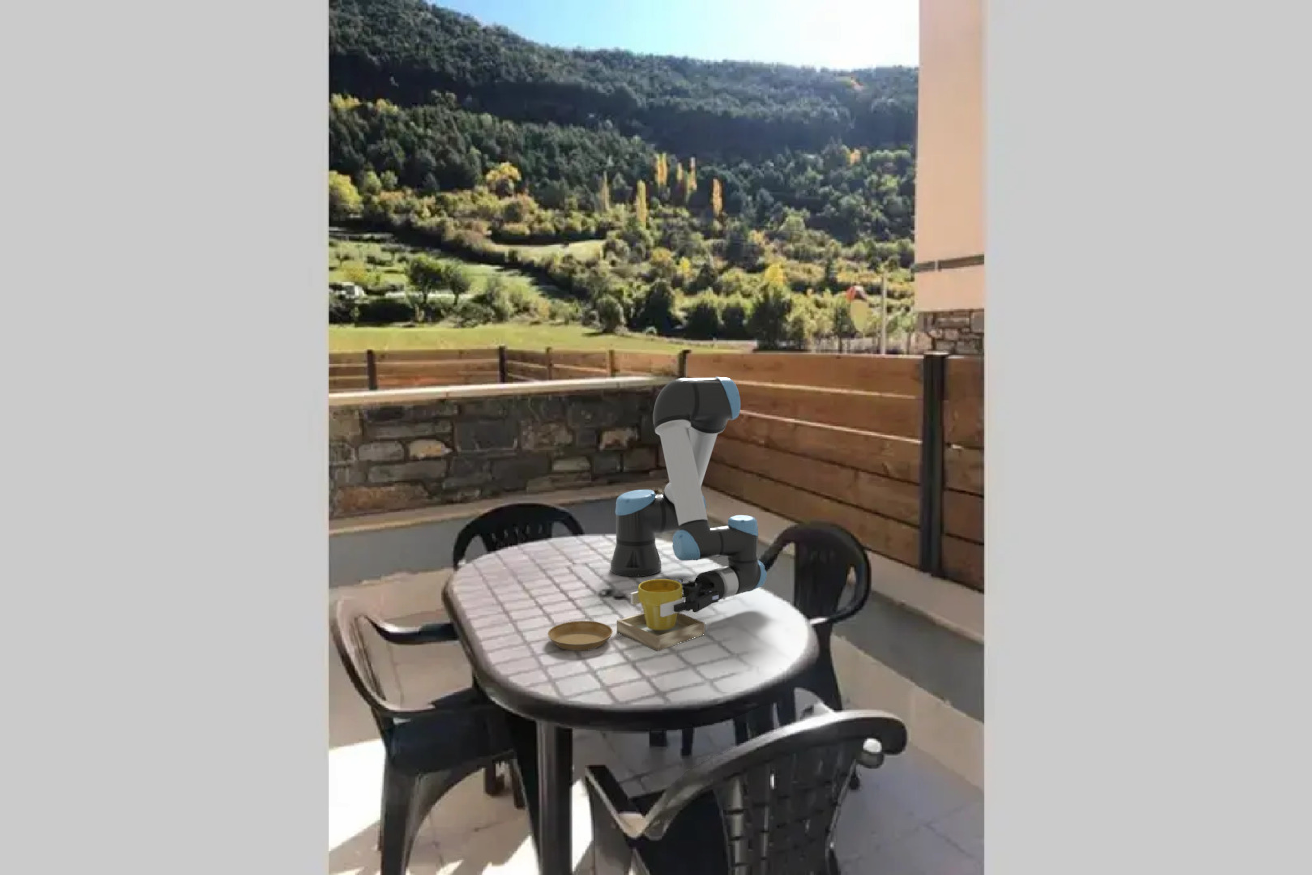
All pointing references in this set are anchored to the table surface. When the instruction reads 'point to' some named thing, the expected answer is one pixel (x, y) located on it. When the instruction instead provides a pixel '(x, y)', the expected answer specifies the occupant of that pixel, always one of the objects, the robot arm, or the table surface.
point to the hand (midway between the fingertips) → (646, 604)
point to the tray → (660, 631)
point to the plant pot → (658, 601)
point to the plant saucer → (580, 635)
